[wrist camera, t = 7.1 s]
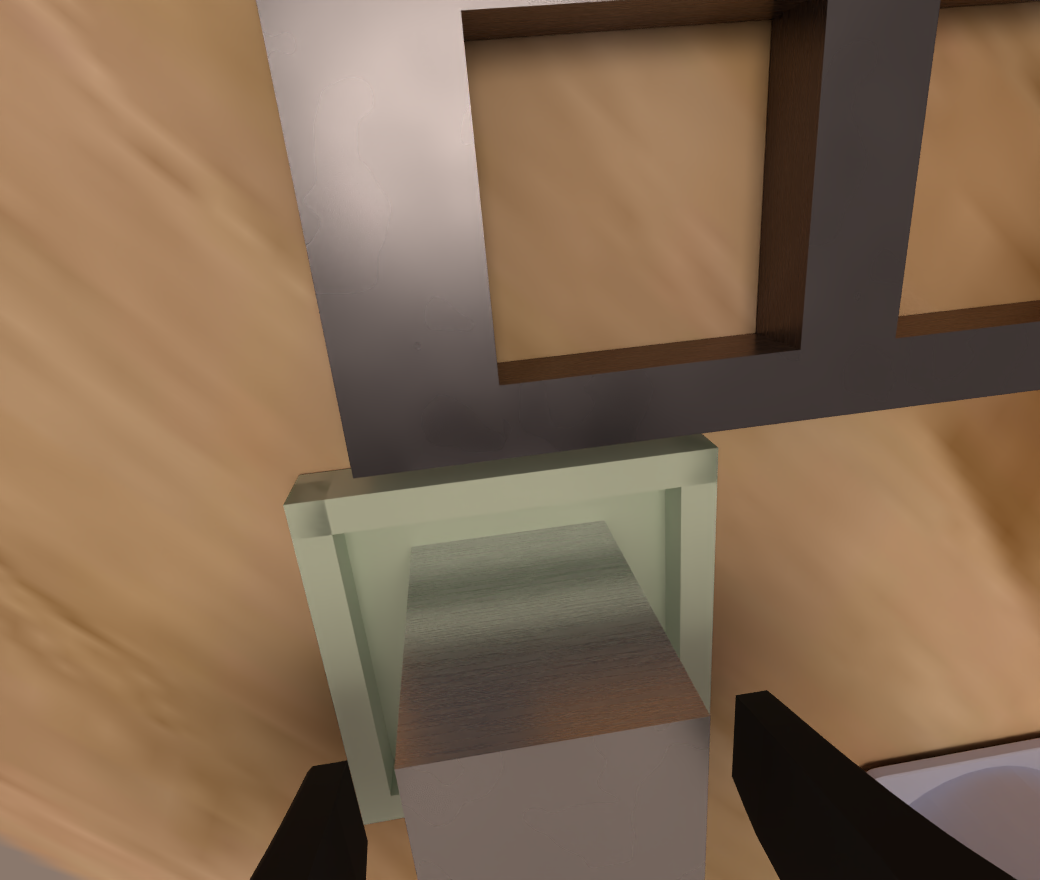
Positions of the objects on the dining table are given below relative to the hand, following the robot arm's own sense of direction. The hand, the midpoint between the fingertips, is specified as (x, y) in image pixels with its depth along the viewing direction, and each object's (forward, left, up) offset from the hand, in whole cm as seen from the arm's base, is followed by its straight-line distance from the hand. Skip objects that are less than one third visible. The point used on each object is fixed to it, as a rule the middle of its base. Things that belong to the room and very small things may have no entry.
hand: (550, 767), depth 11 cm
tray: (0, 0, -5) cm, 5 cm away
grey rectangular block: (0, 0, -4) cm, 4 cm away
